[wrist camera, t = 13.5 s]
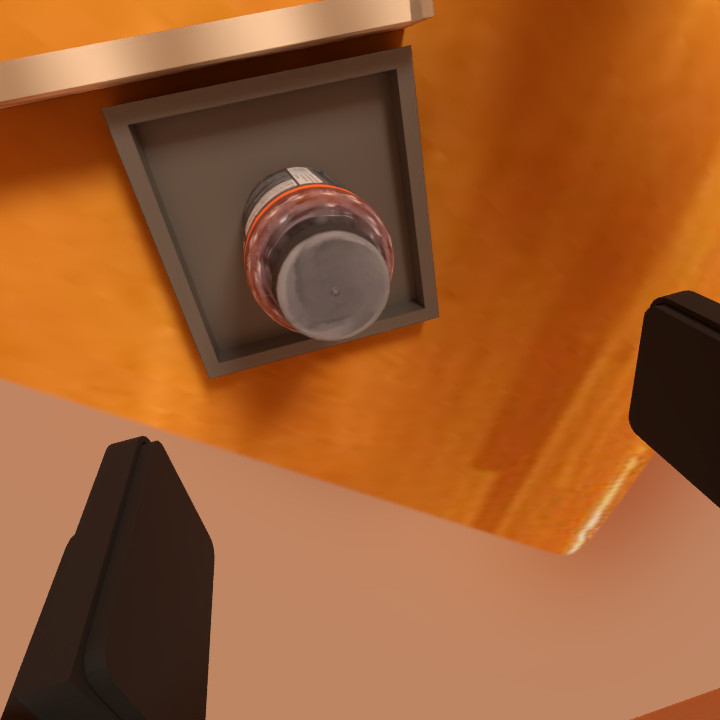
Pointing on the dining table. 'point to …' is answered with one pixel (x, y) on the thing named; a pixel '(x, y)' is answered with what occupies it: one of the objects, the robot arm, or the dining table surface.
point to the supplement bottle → (315, 254)
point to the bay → (201, 47)
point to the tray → (255, 161)
